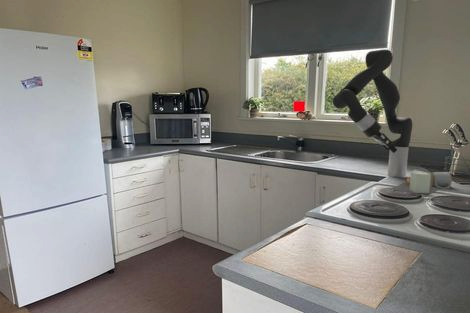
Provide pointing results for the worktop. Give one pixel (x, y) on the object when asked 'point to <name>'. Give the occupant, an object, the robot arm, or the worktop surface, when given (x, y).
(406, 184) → the cube
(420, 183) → the pale green block
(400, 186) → the mat
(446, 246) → the worktop surface
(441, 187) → the ceramic mug
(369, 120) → the robot arm
